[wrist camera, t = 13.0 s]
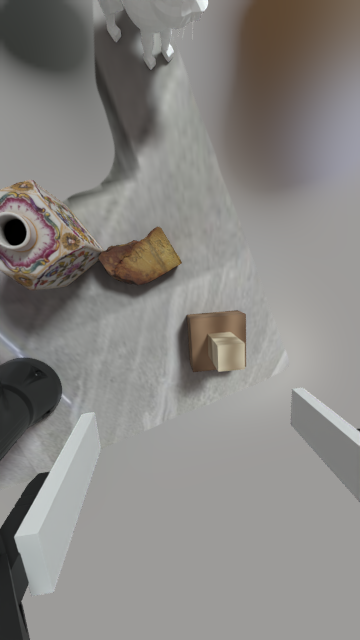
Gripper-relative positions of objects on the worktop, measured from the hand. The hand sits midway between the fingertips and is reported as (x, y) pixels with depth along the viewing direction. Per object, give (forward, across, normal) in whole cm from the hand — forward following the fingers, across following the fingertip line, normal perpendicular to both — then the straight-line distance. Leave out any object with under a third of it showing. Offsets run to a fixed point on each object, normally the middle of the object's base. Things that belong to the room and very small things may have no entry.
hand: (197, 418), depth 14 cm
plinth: (+37, +10, -6) cm, 39 cm away
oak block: (+32, +10, -6) cm, 34 cm away
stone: (+37, -5, +13) cm, 40 cm away
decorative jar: (+37, -20, +16) cm, 45 cm away
